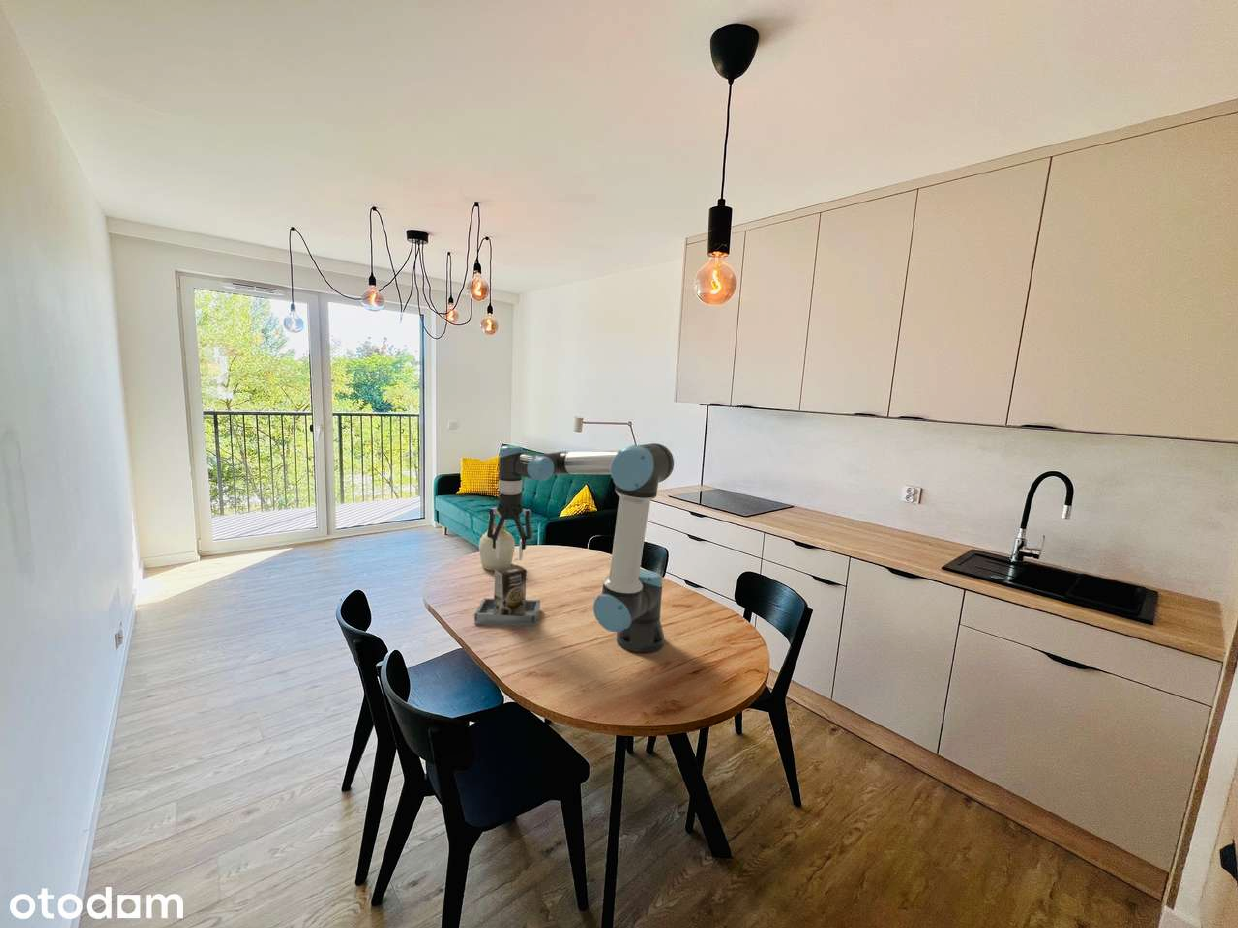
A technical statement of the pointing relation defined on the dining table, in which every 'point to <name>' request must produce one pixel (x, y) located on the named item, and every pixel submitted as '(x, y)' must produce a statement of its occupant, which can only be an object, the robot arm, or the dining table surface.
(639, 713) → the dining table surface
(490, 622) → the grey shallow tray
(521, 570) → the coffee box
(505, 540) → the jug
